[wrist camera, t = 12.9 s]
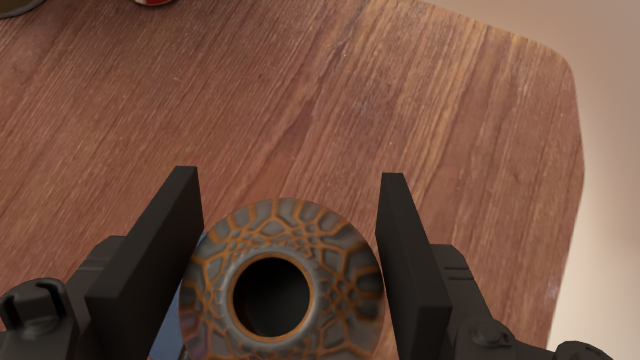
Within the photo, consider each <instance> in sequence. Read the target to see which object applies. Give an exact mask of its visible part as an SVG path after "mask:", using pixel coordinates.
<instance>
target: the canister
mask: <svg viewBox="0 0 640 360" xmlns="http://www.w3.org/2000/svg"><path fill="white" fill-rule="evenodd" d="M43 1H44V0H0V18H6V17H12V16H17V15H20V14H22V13H24V12H26V11H28V10H31V9H33V8H35V7H36V6H38V5H39V4H40V3H41V2H43Z"/></svg>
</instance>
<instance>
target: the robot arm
mask: <svg viewBox="0 0 640 360" xmlns="http://www.w3.org/2000/svg"><path fill="white" fill-rule="evenodd" d="M203 230H204V220H203V212H202V204H201V196H200V188H199V180H198V172H197V167H196V166H176V167H175V168H174V169H173V171H172V172H171V174H170V175H169V177H168V178H167V179H166V181H165V182H164V184H163V185H162V186H161V188H160V189H159V191H158V192H157V193H156V195H155V196H154V198H153V199H152V200H151V202H150V203H149V205H148V206H147V208H146V209H145V210H144V212H143V213H142V215H141V216H140V217H139V219H138V220H137V222H136V223H135V224H134V226H133V227H132V229H131V230H130V231H129V233H128V234H127V236H110V237H108V238H107V239H105V240H104V241H102V242H101V243H99V244H98V245H96V246H95V248H94V249H93V250H92V251H91V253H90V254H89V255H88V256H87V258H86V260H84V261H83V263H82V264H81V265H80V266H79V269H78V270H76V272H75V273H74V274H73V275H72V277H71V278H70V279H69V280H68V282H67V283H66V284H65V285H64V284H63V283H62V282H61V281H60V280H58V279H54V278H37V279H34V280H30V281H27V282H24V283H22V284H20V285H18V286H15V287H13V288H12V289H10V290H9V291H8V292H6V293H5V294H4V295H2V296H1V298H0V316H1V319H2V321H3V323H4V325H5V327H6V329H7V331H4V332H0V360H147V357H148V355H149V353H150V350H151V348H152V346H153V344H154V341H155V339H156V337H157V335H158V332H159V330H160V328H161V325H162V323H163V321H164V319H165V316H166V314H167V312H168V310H169V307H170V305H171V303H172V300H173V298H174V296H175V294H176V291H177V289H178V287H179V284H180V282H181V280H182V278H183V275H184V272H185V269H186V266H187V264H188V262H189V259H190V258H191V256H192V254H193V252H194V250H195V248H196V246H197V244H198V241H199V239H200V237H201V234H202V232H203ZM375 236H376V241H377V246H378V251H379V256H380V262H381V267H382V272H383V277H384V282H385V288H386V293H387V298H388V303H389V308H390V314H391V319H392V324H393V329H394V334H395V340H396V345H397V350H398V355H399V360H613V359H612V358H611V357H610V356H608V355H607V354H606V353H604V352H603V351H602V350H600V349H598V348H596V347H594V346H592V345H590V344H587V343H583V342H579V341H565V342H563V343H561V344H560V345H558V347H557V349H556V351H555V352H552V351H549V350H545V349H542V348H538V347H535V346H531V345H528V344H525V343H523V342H520V341H518V340H516V339H515V336H514V335H513V334H512V333H511V331H510V330H509V329H508V328H507V327H506V326H504V325H503V324H502V323H500V322H499V321H497V320H495V319H493V317H492V315H491V313H490V311H489V309H488V307H487V305H486V303H485V300H484V298H483V296H482V294H481V292H480V290H479V288H478V286H477V284H476V282H475V281H474V277H473V275H472V273H471V271H470V270H469V267H468V265H467V263H466V260H465V258H464V256H463V255H462V254H461V253H460V252H459V251H458V250H457V249H455V248H454V247H453V246H452V245H441V244H429V241H428V239H427V236H426V233H425V231H424V228H423V226H422V223H421V220H420V218H419V215H418V212H417V210H416V207H415V204H414V202H413V199H412V196H411V194H410V191H409V188H408V186H407V183H406V180H405V178H404V175H403V173H383V172H382V179H381V187H380V196H379V204H378V212H377V221H376V229H375Z"/></svg>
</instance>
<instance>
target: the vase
mask: <svg viewBox="0 0 640 360" xmlns="http://www.w3.org/2000/svg"><path fill="white" fill-rule="evenodd" d="M178 313H179V324H180V330H181V334H182V338H183V342H184V344H185V347H186V350H187V352H188V354H189V356H190V358H191V360H370V359H371V357H372V355H373V353H374V351H375V349H376V346H377V344H378V341H379V339H380V335H381V332H382V328H383V323H384V316H385V289H384V283H383V278H382V274H381V270H380V267H379V265H378V262H377V260H376V257H375V255H374V253H373V251H372V249H371V248H370V246H369V245H368V243H367V241H366V240H365V239H364V237H363V236H362V235H361V234H360V233H359V231H358V230H357V229H356V228H355V227H354V226H353V225H352V224H351V223H349V222H348V221H347V220H346V219H345V218H343V217H342V216H340V215H339V214H337V213H336V212H334V211H332V210H330V209H328V208H326V207H324V206H322V205H319V204H316V203H313V202H310V201H306V200H301V199H293V198H276V199H268V200H263V201H259V202H255V203H252V204H249V205H247V206H244V207H242V208H240V209H238V210H236V211H234V212H233V213H231V214H229V215H228V216H226V217H225V218H223V219H222V220H221V221H220V222H218V223H217V224H216V225H215V226H214V227H213V228H212V229H211V230H210V231H209V232H208V233H207V234H206V235H205V236H204V238H203V239H202V240H201V241H200V243H199V244H198V245H197V247H196V249H195V250H194V252H193V254H192V256H191V258H190V259H189V262H188V264H187V266H186V269H185V272H184V275H183V278H182V282H181V287H180V292H179V303H178Z"/></svg>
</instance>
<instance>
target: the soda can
mask: <svg viewBox="0 0 640 360" xmlns="http://www.w3.org/2000/svg"><path fill="white" fill-rule="evenodd" d="M133 1H135V2H137V3H139V4H143V5H151V6H152V5H161V4H164V3H167V2H169V1H171V0H133Z"/></svg>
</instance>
